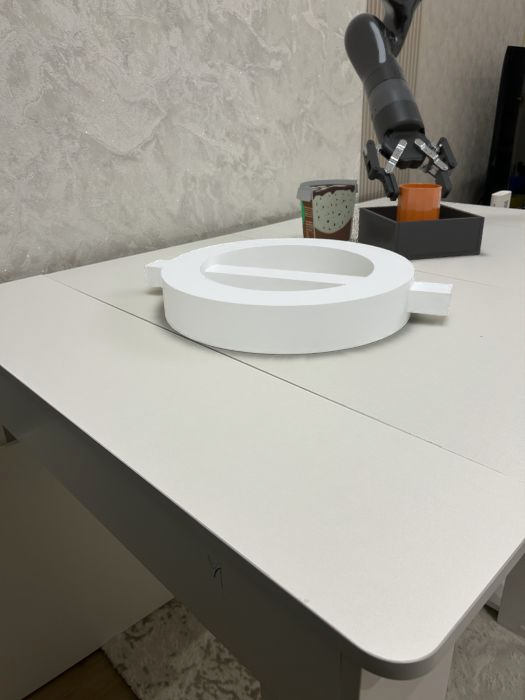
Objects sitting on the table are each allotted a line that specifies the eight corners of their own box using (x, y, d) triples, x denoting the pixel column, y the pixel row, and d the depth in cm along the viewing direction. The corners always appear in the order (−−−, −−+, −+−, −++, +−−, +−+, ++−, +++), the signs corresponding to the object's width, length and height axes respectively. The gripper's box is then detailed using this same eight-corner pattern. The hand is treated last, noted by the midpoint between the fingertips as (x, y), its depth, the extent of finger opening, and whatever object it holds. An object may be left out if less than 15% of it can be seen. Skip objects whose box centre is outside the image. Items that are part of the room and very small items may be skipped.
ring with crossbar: (141, 289, 71) (137, 252, 69) (331, 262, 80) (332, 230, 79) (210, 376, 47) (206, 325, 45) (466, 324, 57) (472, 280, 55)
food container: (328, 235, 98) (329, 177, 94) (356, 240, 94) (358, 179, 90) (280, 247, 90) (280, 184, 86) (308, 253, 86) (309, 187, 82)
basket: (434, 235, 96) (437, 202, 94) (479, 254, 83) (485, 217, 81) (357, 240, 93) (359, 207, 91) (392, 261, 81) (395, 222, 78)
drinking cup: (423, 238, 92) (429, 182, 88) (443, 246, 86) (449, 187, 82) (388, 240, 90) (392, 184, 87) (405, 249, 85) (410, 189, 81)
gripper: (361, 99, 86) (386, 183, 80) (444, 96, 88) (474, 178, 83) (348, 134, 93) (370, 214, 87) (425, 131, 95) (452, 208, 90)
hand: (421, 196), depth 85 cm, fingers open, 8 cm apart
